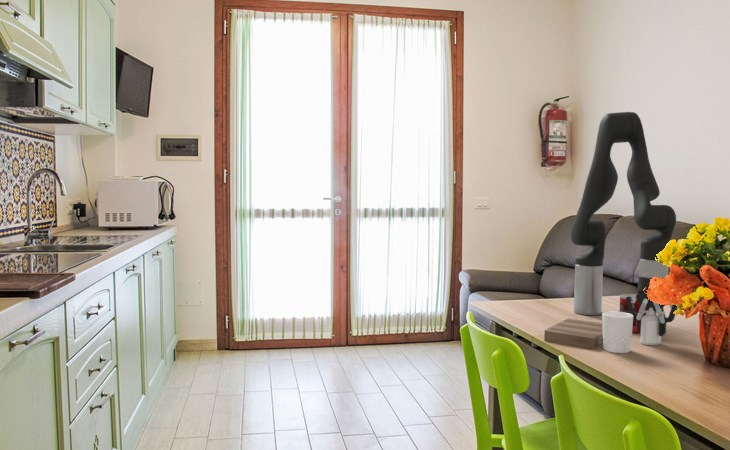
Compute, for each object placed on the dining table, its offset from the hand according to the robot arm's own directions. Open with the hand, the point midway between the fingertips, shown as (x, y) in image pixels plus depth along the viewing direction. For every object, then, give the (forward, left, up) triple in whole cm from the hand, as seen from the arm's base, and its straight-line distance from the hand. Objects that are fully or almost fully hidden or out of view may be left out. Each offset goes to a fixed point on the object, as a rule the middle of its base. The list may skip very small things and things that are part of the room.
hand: (650, 333), depth 163 cm
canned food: (-13, -8, -3) cm, 16 cm away
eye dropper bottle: (0, 0, -3) cm, 3 cm away
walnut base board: (+6, -18, -3) cm, 19 cm away
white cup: (+13, -6, -3) cm, 14 cm away
